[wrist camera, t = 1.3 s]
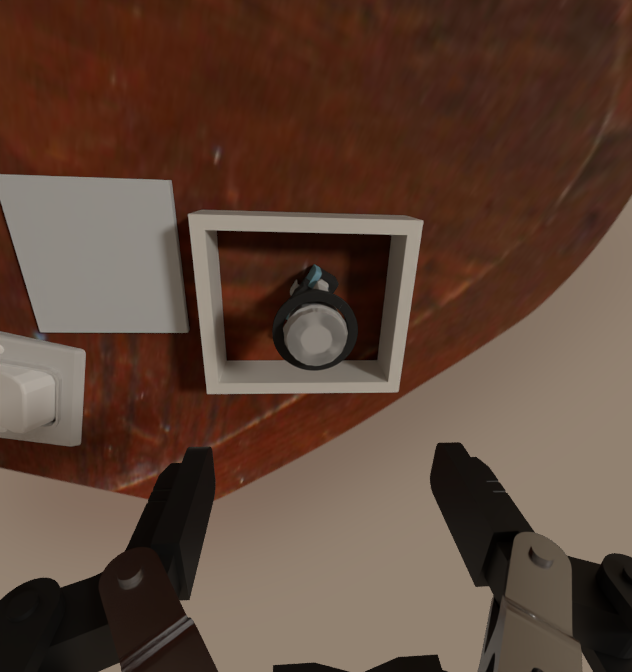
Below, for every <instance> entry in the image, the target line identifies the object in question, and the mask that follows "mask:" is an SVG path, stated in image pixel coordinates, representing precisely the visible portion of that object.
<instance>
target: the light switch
mask: <svg viewBox="0 0 632 672" xmlns="http://www.w3.org/2000/svg"><path fill="white" fill-rule="evenodd" d="M85 357H86V352H85V351H84V350H83V349H80V348H75V347H70V346H66V345H61V344H56V343H52V342H47V341H42V340H38V339H33V338H28V337H24V336H19V335H14V334H10V333H5V332H0V438H7V439H15V440H23V441H31V442H39V443H47V444H55V445H62V446H70V447H71V446H76V445H80V444H81V433H82V415H83V396H84V377H85ZM55 417H56V420H55V421H53V420H54V419H55ZM51 421H52V422H51Z"/></svg>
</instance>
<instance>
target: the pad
mask: <svg viewBox="0 0 632 672" xmlns="http://www.w3.org/2000/svg"><path fill="white" fill-rule="evenodd" d="M0 201H1V205H2V208H3V211H4V214H5V218H6V221H7V224H8V228H9V231H10V234H11V238H12V241H13V244H14V248H15V251H16V254H17V257H18V261H19V264H20V267H21V271H22V274H23V277H24V281H25V284H26V287H27V291H28V294H29V297H30V300H31V304H32V307H33V310H34V314H35V317H36V320H37V324H38V327H39V330H40V332H71V333H188V332H189V322H188V314H187V306H186V297H185V289H184V280H183V272H182V264H181V255H180V247H179V239H178V230H177V222H176V213H175V205H174V197H173V188H172V180H149V179H120V178H91V177H62V176H33V175H4V174H0Z"/></svg>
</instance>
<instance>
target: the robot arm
mask: <svg viewBox="0 0 632 672" xmlns="http://www.w3.org/2000/svg"><path fill="white" fill-rule="evenodd" d="M430 484H431V489H432V493H433V495H434V497H435V499H436V501H437V504H438V506H439V508H440V510H441V512H442V515H443V517H444V519H445V521H446V523H447V526H448V528H449V530H450V532H451V534H452V536H453V539H454V541H455V543H456V545H457V547H458V549H459V552H460V554H461V556H462V558H463V560H464V563H465V565H466V567H467V569H468V571H469V574H470V576H471V578H472V580H473V582H474V585H475V586H476V587H480V586H489V587H490V588H491V591H492V593H493V598H492V601H491V606H490V611H489V617H488V622H487V628H486V633H485V638H484V644H483V649H482V654H481V659H480V664H479V668H478V672H582V653H583V654H584V656H585V658H586V660H587V662H588V663H589V665H590V667H591V669H592V670H593V672H632V558H631V557H629V556H626V555H623V554H615V553H614V554H609V555H607V556H605V558H604V559H603V561H602V563H601V564H597V563H593V562H589V561H585V560H581V559H577V558H574V557H570V556H567V555H566V554H565V552H564V551H563V550H562V549H561V548H560V547H559V546H558V545H557V544H556V543H554V542H553V541H552V540H550V539H548V538H547V537H545V536H543V535H540V534H537V533H535V532H534V531H533V529H532V528H531V526H530V525H529V523H528V522H527V521H526V519H525V518H524V516H523V515H522V514H521V512H520V511H519V509H518V508H517V506H516V505H515V503H514V502H513V501H512V499H511V498H510V496H509V495H508V493H506V492H505V489H504V488H503V486H502V485H501V484H500V483H499V482H498V479H497V478H496V476H495V475H494V473H493V472H492V471H491V469H490V468H489V467H488V466H487V465H486V464H484V463H483V462H482V461H481V460H479V459H478V458H477V457H470V456H469V454H468V452H467V451H466V449H465V448H464V446H463V445H462V444H461V443H458V442H457V443H438V444H437V446H436V450H435V455H434V459H433V464H432V469H431V474H430ZM214 495H215V473H214V463H213V454H212V448H211V447H188V449H187V451H186V453H185V456H184V458H183V461H182V463H171V464H170V465H169V466H168V467H167V468H166V469H165V470H164V471H163V472H162V473H161V474H160V475H159V477H158V479H157V482H156V484H155V486H154V488H153V492H152V493H151V495H150V497H149V499H148V503H147V504H146V506H145V508H144V511H143V513H142V515H141V518H140V520H139V522H138V524H137V526H136V529H135V531H134V533H133V535H132V537H131V540H130V542H129V544H128V546H127V548H126V550H125V552H123V553H121V554H120V555H118V556H117V557H116V558H115V559H113V560H112V561H111V562H110V563H109V564H108V565H107V567H106V568H105V570H104V571H103V572H102V573H100V574H98V575H96V576H93V577H91V578H88V579H85V580H82V581H79V582H76V583H73V584H70V585H67V586H64V587H61V588H60V586H59V585H58V583H57V582H56V581H55V580H53V579H51V578H38V579H34V580H30V581H28V582H26V583H23V584H22V585H20V586H18V587H16V588H15V589H13V590H12V591H11V592H9V593H8V594H7V595H5V596H4V597H3V598H2V599H1V600H0V672H99V671H101V670H103V669H105V668H108V667H110V666H112V665H115V664H117V663H119V662H120V665H121V671H122V672H218V670H217V668H216V666H215V664H214V662H213V660H212V658H211V656H210V654H209V652H208V650H207V648H206V646H205V644H204V641H203V639H202V637H201V635H200V633H199V631H198V629H197V627H196V625H195V623H194V621H193V620H192V619H191V618H188V617H187V615H186V613H185V612H184V609H183V607H182V605H181V603H180V601H179V600H190V596H191V591H192V587H193V583H194V579H195V575H196V570H197V567H198V562H199V558H200V554H201V550H202V546H203V542H204V538H205V534H206V529H207V525H208V521H209V517H210V513H211V509H212V505H213V500H214ZM273 672H348V671H344V670H340V669H337V668H333V667H329V666H325V665H321V664H318V663H302V664H287V665H273ZM365 672H447V671H444V670H442V668H441V664H440V661H439V658H438V655H424V656H409V657H398V658H395V659H393V660H391V661H388V662H386V663H384V664H381V665H379V666H377V667H374V668H372V669H370V670H367V671H365Z"/></svg>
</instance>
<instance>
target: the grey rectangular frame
mask: <svg viewBox="0 0 632 672" xmlns="http://www.w3.org/2000/svg"><path fill="white" fill-rule="evenodd" d="M188 219H189V228H190V238H191V247H192V256H193V266H194V275H195V285H196V294H197V304H198V313H199V322H200V332H201V341H202V351H203V360H204V370H205V379H206V388H207V394H265V393H371V392H398V391H399V384H400V377H401V370H402V363H403V356H404V350H405V343H406V336H407V329H408V322H409V315H410V309H411V302H412V295H413V288H414V281H415V274H416V267H417V261H418V254H419V247H420V240H421V233H422V226H423V220H420V219H416V218H413V217H409V216H403V215H368V214H333V213H298V212H264V211H229V210H199V211H196V212H193V213H190V214H188ZM217 230H222V231H263V232H304V233H345V234H385V235H392V236H391V244H390V253H389V262H388V271H387V280H386V288H385V297H384V306H383V315H382V324H381V332H380V341H379V350H378V359H377V360H343V361H342V362H340V363H339V364H337V365H335V366H333V367H331V368H328V369H324V370H318V371H310V370H304V369H300V368H297V367H295V366H293V365H291V364H290V363H288V362H287V361H286V360H271V361H227V359H226V346H225V333H224V320H223V307H222V294H221V281H220V268H219V255H218V242H217Z"/></svg>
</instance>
